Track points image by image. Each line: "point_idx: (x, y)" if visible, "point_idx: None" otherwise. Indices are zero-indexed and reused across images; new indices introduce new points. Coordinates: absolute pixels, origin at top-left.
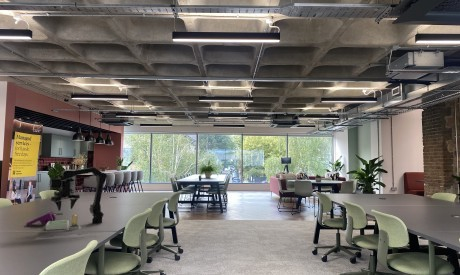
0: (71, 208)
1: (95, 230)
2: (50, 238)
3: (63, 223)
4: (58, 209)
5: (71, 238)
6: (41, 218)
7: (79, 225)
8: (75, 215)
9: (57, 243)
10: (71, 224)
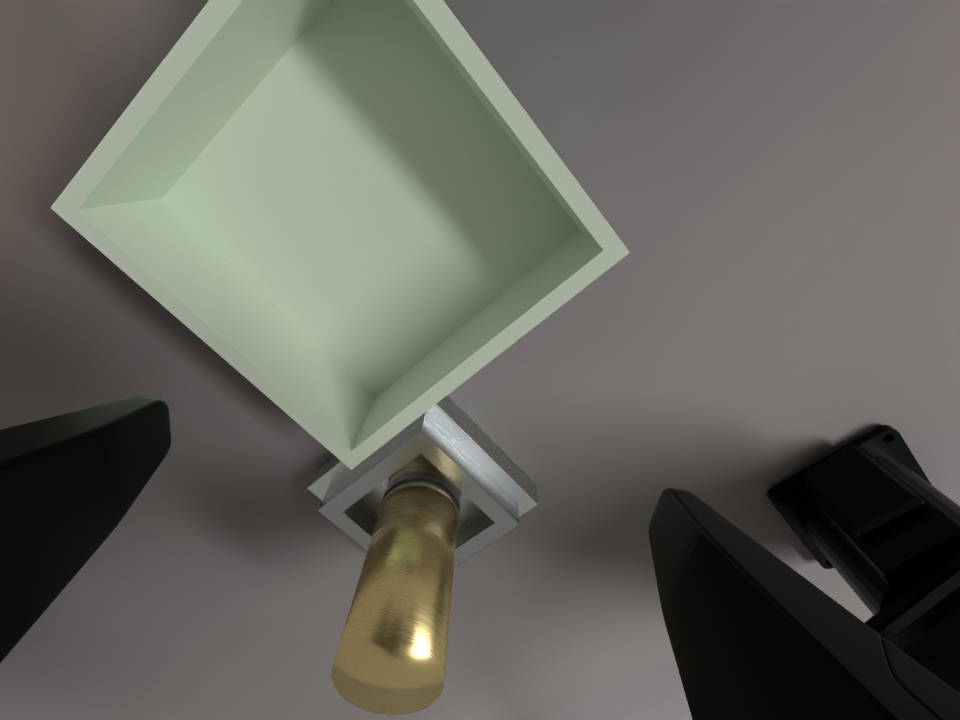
0: (651, 532)
1: (521, 657)
2: None
3: (313, 421)
4: (96, 420)
5: (155, 677)
6: None
7: (484, 546)
8: (368, 706)
9: None
10: (382, 515)
